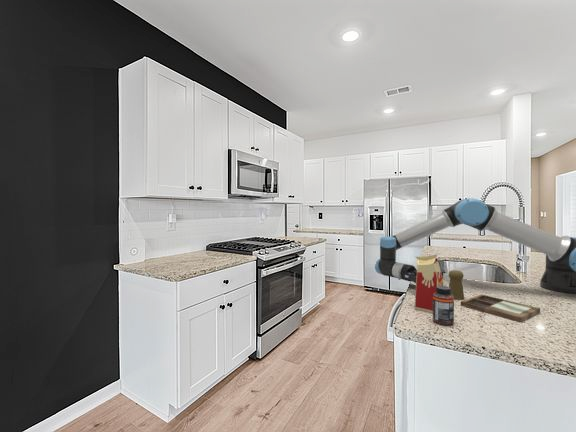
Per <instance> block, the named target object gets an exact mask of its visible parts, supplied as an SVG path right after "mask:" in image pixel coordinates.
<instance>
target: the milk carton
mask: <svg viewBox="0 0 576 432" xmlns="http://www.w3.org/2000/svg"><path fill="white" fill-rule="evenodd" d="M415 258H416V261H417V268H416V270H417V277H416V283H415V294H414V310H419V311H423V312H427V313H430V314H433V294H434V293H435V292H436V287H437V286H445V285H444V280H443V279H442V274H441V272H442V271H441V267H440V264H439V262H440V261H439V260H438V254H437V253H436V254H431V255H425V256H415Z"/></svg>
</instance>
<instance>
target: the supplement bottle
mask: <svg viewBox="0 0 576 432" xmlns="http://www.w3.org/2000/svg"><path fill="white" fill-rule="evenodd" d="M450 292H451V289H450V287H449V286H446V285H444V286H437V287H436V292H435V293H434V294H433V313H432V320H433V322H435V323H436V324H439V325H443V326H451V325H453V324H454V323H455V322H454V320H455V300H454V296H453V295H452V294H451V293H450Z"/></svg>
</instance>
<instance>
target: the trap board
mask: <svg viewBox="0 0 576 432" xmlns="http://www.w3.org/2000/svg"><path fill="white" fill-rule="evenodd" d="M460 306H461V307H464V308H468V309H473V310H476V311H479V312H482V313H486V314H489V315H494V316H497V317H501V318H504V319H508V320H509V321H510V320H511V321H514V322H517V323H523V322H525V321H526V320H528V319H531V318H533V317H534V316H536V315H539V314H540V313H541V308H540V307H537V306H532V305H528V304H524V303H520V302H517V301H512V300H507V299H503V298H499V297H495V296H489V295H485V294H480V295H476V296H473V297H470V298H468V299H464V300H460Z"/></svg>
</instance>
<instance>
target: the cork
mask: <svg viewBox="0 0 576 432" xmlns="http://www.w3.org/2000/svg"><path fill="white" fill-rule="evenodd" d="M448 274H449V277H450V281H449V285H448V287H450V289H451V292H450V293H451V294H452V295H453V296H454V301H455V300H456V301H464V300H465V294H464V293H465V292H464V286H463V279H464V273H463V272H462V271H461V270H456V269H455V270H453V269H452V270H449V272H448Z"/></svg>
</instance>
